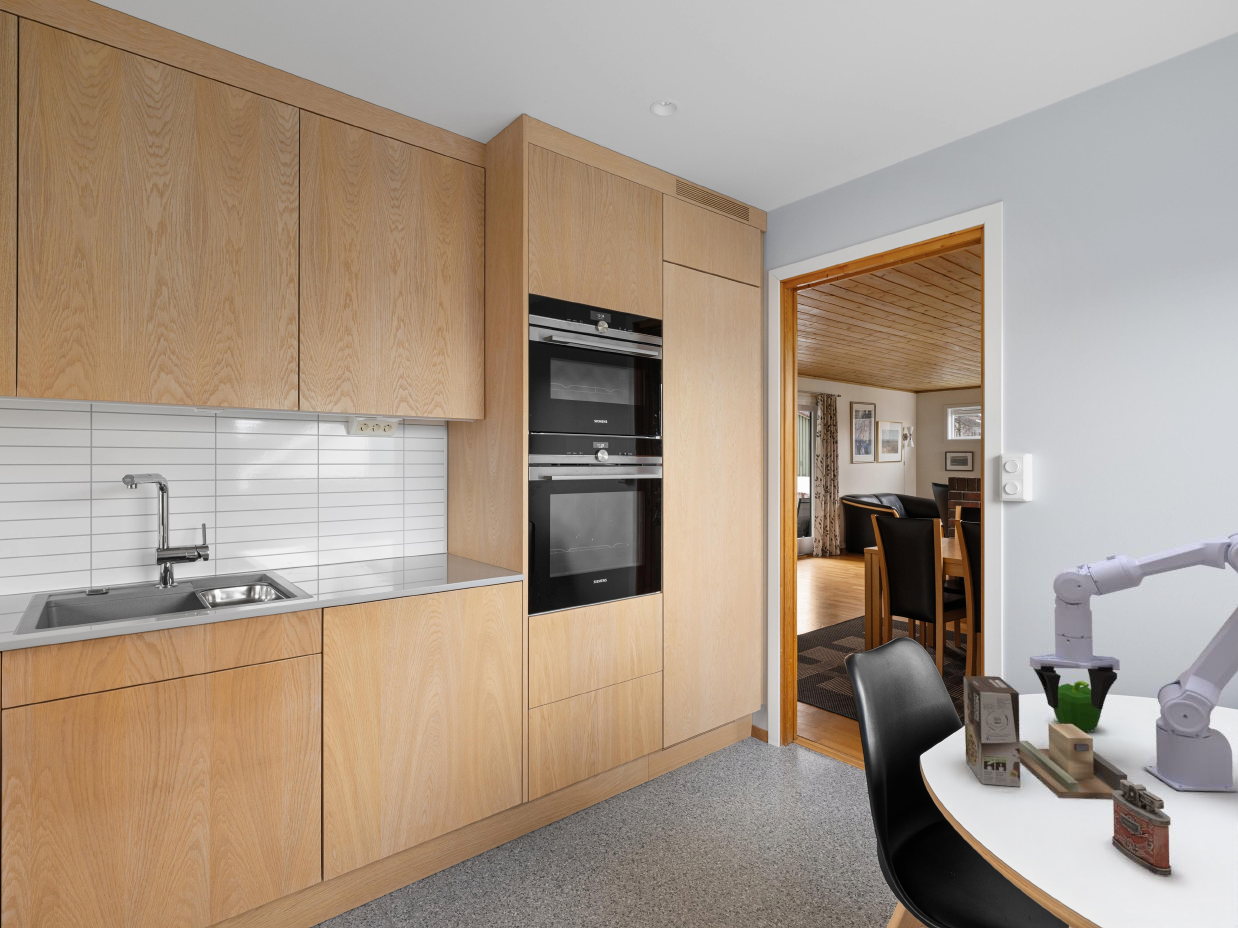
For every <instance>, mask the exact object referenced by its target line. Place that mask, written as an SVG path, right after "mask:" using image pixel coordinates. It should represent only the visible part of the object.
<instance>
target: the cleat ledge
mask: <svg viewBox="0 0 1238 928" xmlns="http://www.w3.org/2000/svg"><path fill="white" fill-rule="evenodd" d="M1020 764H1022V765H1023V766H1024V767H1025V768H1026V769H1027V770H1028V771H1029V772H1031V774H1033V775H1034V776H1035V777H1036V778H1037V779H1039V781H1040V782H1042V783H1043V784H1044V785H1045V786H1046V787H1047V788H1048V787H1049V788H1050V789H1049V788H1048V789H1049V790H1051V791H1052V793H1054V794H1055V795H1056V796H1057V795H1058V796H1059V797H1063V798H1062V799H1091V800H1092V799H1093V798H1096V799H1097V800H1098V799H1099V798H1100V799H1099V800H1101V799H1102V800H1113V799H1112V791H1114V790H1120V791H1121V787H1120V780H1128V774H1127V773H1126V772H1124V771H1122V770H1121V769H1120V768H1118V767H1117V766H1116V765H1114V764H1113V763H1111V762H1110V761H1109V760H1107V759H1105V758H1104V757H1103V756H1101V755H1100V754H1099V753H1097V752H1096V751H1094V750H1093V773H1094V779H1073V778H1072V777H1071V776H1070V775H1068V774H1067V773H1066V772H1065V771H1063V770H1062V769H1061V768H1060V767H1059V766H1057V765H1056V764H1055V763H1054V762H1052V761H1051V760H1050V759H1049V748H1037V747H1035V746H1034V745H1033V744H1032V743H1031V742H1029V741H1028V740H1020ZM1058 796H1057V797H1058Z"/></svg>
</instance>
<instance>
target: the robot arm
mask: <svg viewBox="0 0 1238 928" xmlns="http://www.w3.org/2000/svg"><path fill="white" fill-rule="evenodd" d="M1105 556H1106V559H1103V560H1099V561H1096V562H1092V563H1088V564H1084V563H1082V562H1081V563H1078V564H1077V565H1076V567H1077V568H1072V567H1068V568H1065V569H1062V570H1061V571H1059V572H1058V573H1057V574H1056V575H1055V578H1054V580H1053V584H1052V585H1053V586H1052V587H1053V591H1054V594H1055V598H1054V604H1055V607H1054V640H1055V641H1054V644H1055V645H1054V646H1055V647H1054V648H1055V650H1054V651H1055V653H1050V654H1042V655H1041V654H1039V655H1030V656H1029V666H1030V667H1031V668H1032V669H1033V671H1034V672H1035V674H1036V676H1037V678H1038V679H1039V681H1040V684H1041V687H1043V691H1044V693H1045V697H1046V700H1047V701H1046V703H1047V705H1048V706H1049V707H1050V708H1052V709H1053V708H1054V709H1058V686H1059V685H1060V680H1061V678H1062V677H1061V676H1062V675H1061V674H1059V673H1058V672H1057V671H1056V669H1085V670H1086V669H1087V672H1088V678H1089V683H1090V684H1089V685H1090V689H1091V703H1092V706H1094V707H1095V708H1097V709H1099V710H1103V708H1104V704H1105V701H1106V698H1107V695H1108V693H1109V691H1110V689H1111V687H1112V686H1113V685H1114V683H1115V682H1116V681H1117V680H1118V673H1117V672H1115V671H1120V670H1121V669H1120V664H1121V663H1120V662H1121V661H1120V659H1118V658H1116V657H1114V656H1104V655H1103V656H1102V655H1094V652H1093V649H1094V648H1093V613H1092V612H1093V611H1092V610H1091V598H1092V595H1093V596H1103V595H1107V594H1111V593H1112V594H1113V593H1115V592H1119V591H1124V590H1129V589H1132V588H1137V587H1139V586H1140V585H1141V583H1142V582H1143V579H1144V578H1145V577H1148V576H1154V575H1158V574H1163V573H1167V572H1171V571H1177V570H1180V569H1186V568H1190V567H1195V566H1205V567H1209V568H1210V567H1211V568H1215V569H1221V570H1226V568H1227V567H1226V564H1227V563H1228V565H1229V566H1230V567H1231V568H1232V569H1233V570H1234V571H1235V572H1236V573H1237V574H1238V532H1234V533H1232V534H1230V535H1228V536H1227V535H1219V536H1213V537H1209V538H1205V539H1200V540H1195V541H1193V542H1189V543H1185V544H1182V545H1179V546H1176V547H1172V548H1169V549H1165V550H1163V551H1159V552H1155V553H1153V554H1149V555H1145V556H1143V557H1140V558H1132V557H1130V556H1128V555H1124V554H1122V555H1118V556H1117V555H1116V554H1115V553H1112V554H1108V555H1105ZM1237 672H1238V606H1237V607H1236V608H1235V609H1234V610H1233V612H1232V613H1231V615H1230V616H1229V617H1228V618H1227V620H1226V621H1225V622H1224V623H1223V625H1221V627H1220V628H1219V629H1218V631H1217V633H1215V635H1214V636H1213V638H1212V639H1211V640H1210V641H1209V642H1208V644H1207V645H1206V647H1205V648H1204V649H1203V650H1202V651H1201V652H1200V654H1199V655H1198V656H1197V658H1196V659H1195V661H1194V662H1193V663H1192V664H1191V665H1190V667H1189V668H1188V669H1186V670H1185V671H1183V672H1181V673H1180V674H1179V676H1177V678H1176V679H1175V680H1172V681H1171V682H1168V683H1165V684H1164V685H1162V686H1161V687H1160V688H1159V690H1158V692H1157V702H1158V704H1159V706H1160V709H1159V710H1160V711H1159V712H1160V717H1158V718H1157V719H1155V732H1156V733H1155V737H1156V738H1155V739H1156V740H1155V741H1156V742H1155V743H1156V744H1155V745H1156V749H1155V750H1156V751H1155V752H1156V765H1144V766H1143V769H1145V770H1146V771H1148V772H1149V773H1151V775H1153V776H1155V777H1156V778H1158V779H1159V780H1161V781H1162V782H1164V783H1166V784H1167V785H1168V786H1170V788H1172V789H1174V790H1176V791H1191V792H1192V791H1193V792H1194V791H1196V792H1197V791H1199V792H1200V791H1201V792H1202V791H1203V792H1205V791H1206V792H1237V790H1238V788H1237V787H1235V786H1233V785H1234V783H1233V782H1234V781H1233V780H1234V779H1233V777H1234V775H1233V774H1234V773H1233V750H1232V747H1231V744H1230V742H1229V740H1228V738H1227V737H1226V736H1225V735H1224V733H1222V732H1221V731H1220V730H1218V729H1215V728H1211V727H1210V725H1211V713H1213V712H1212V711H1214V709H1215V708H1216V707H1217V704H1218V703H1219V700H1220V699H1219V698H1220V695H1221V693H1222V691H1223V689H1225V687H1226V686H1227V684H1228V683H1229V682H1230V681H1231V680H1232V678H1233V677H1234V676H1235V675H1236V674H1237ZM1054 709H1053V710H1054Z"/></svg>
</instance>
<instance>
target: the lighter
mask: <svg viewBox="0 0 1238 928" xmlns="http://www.w3.org/2000/svg"><path fill="white" fill-rule="evenodd" d="M1120 787H1121V791H1120V790H1114V791H1112V799H1111V800H1113V801H1112V803H1113V806H1112V807H1113V836H1112V838H1111V841H1112V842H1111V843H1112V845H1113V847H1115V848H1116V849H1117V850H1118V851H1119V852H1120V853H1122V854H1123V855H1124V856H1126V857H1127V858H1128V859H1129V860H1131V861H1132V862H1134V863H1135V864H1137V865H1139V866H1140V867H1142V868H1144V869H1146V870H1147V871H1149V872H1151V873H1153V874H1155V875H1158V876H1162V877H1169V876H1171V875H1172V865H1171V864H1170V830H1169V829H1170V826H1171V817H1170V816H1169V815H1168V814H1167V813H1165V812H1164V811H1162V810H1164V809H1165V801H1164V800H1163V799H1162V798H1161V797H1160V796H1158V795H1156V794H1154V793H1152V792H1151V791H1148V790H1147V788H1146V787H1145V785H1143V784H1140V783H1139V784H1135V783H1134V782H1131V781H1130V780H1128V779H1127V780H1120Z"/></svg>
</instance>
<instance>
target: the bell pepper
mask: <svg viewBox="0 0 1238 928" xmlns="http://www.w3.org/2000/svg"><path fill="white" fill-rule="evenodd" d="M1052 709H1053V713H1054V715H1055V718H1056V720H1057V722H1058V724H1073V725H1074V726H1076V727H1077V728H1079V729H1080V730H1081V731H1083V732H1092V731H1094V730H1095V729H1096V728H1097V727H1098V725H1099V721H1100V717H1101V714H1102V710H1103V709H1102V710H1099V709H1097V708H1095V707H1094V706H1092V703H1091V688H1090V684H1089V683H1087V682H1086V681H1083V680H1082V681H1081V680H1077V681H1075V682H1074V684H1073V685H1072V684H1070V683H1065V684H1061V685H1060V686H1058V709H1054V708H1052Z"/></svg>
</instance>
